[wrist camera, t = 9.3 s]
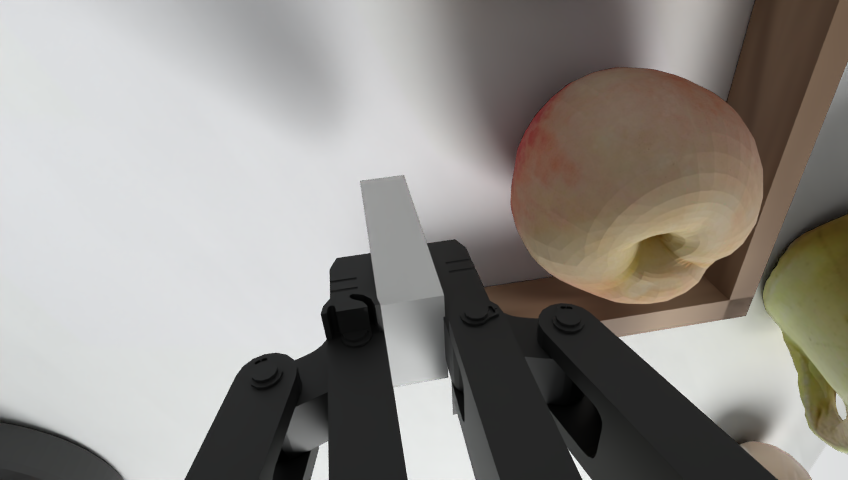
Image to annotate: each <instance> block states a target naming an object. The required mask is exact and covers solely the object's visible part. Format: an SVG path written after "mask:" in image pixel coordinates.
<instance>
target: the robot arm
mask: <svg viewBox="0 0 848 480" xmlns="http://www.w3.org/2000/svg"><path fill="white" fill-rule="evenodd" d="M360 184H361V191H362V198H363V205H364V211H365V218H366V225H367V232H368V239H369V245H370V252H371V253H368V254H361V255H355V256H348V257H341V258H336V260H335V262H334V263H333V265H332V267H331V268H330V299H329V300H328V302H327V303H326V304H325V305H324V306H323V308H322V312H321V317H322V322H323V326H324V330H325V334H326V338H327V340H326V341H325V342H324V343H323V345H322V346H321V347H319V348H318V349H317V350H315V351H314V352H312V353H310V354H308V355H306V356H304V357H301V358H299V359H297V360H294V359H292V358H291V357H289V356H288V355H286V354H280V353H271V354H264V355H262V356H259V357H257V358H254V359H252V360H251V361H250V362H248V363H247V364H246V365H244V366H243V367H242V368H241V370H240V371H239V373H238V374H237V375H236V377H235V379H234V381H233V383H232V385H231V387H230V389H229V391H228V393H227V395H226V397H225V399H224V401H223V403H222V405H221V407H220V409H219V411H218V413H217V415H216V417H215V419H214V421H213V423H212V425H211V427H210V429H209V431H208V433H207V435H206V437H205V440H204V442H203V444H202V446H201V448H200V450H199V452H198V454H197V456H196V458H195V460H194V462H193V464H192V466H191V468H190V470H189V472H188V474H187V476H186V478H185V480H311V476H312V472H313V469H314V465H315V461H316V457H317V454H318V449H319V445H321V444H323V443H325V442H327V441H328V446H329V480H408V479H407V473H406V467H405V460H404V454H403V447H402V441H401V435H400V428H399V422H398V416H397V409H396V403H395V396H394V390H393V387H398V386H404V385H409V384H415V383H420V382H426V381H431V380H437V379H442V378H448V369H449V373H450V376H451V380H452V401H453V414H458V417H459V421H460V425H461V428H462V432H463V436H464V439H465V443H466V446H467V450H468V454H469V457H470V461H471V465H472V468H473V472H474V475H475V479H476V480H582V478H581V476H580V474H579V472H578V470H577V467H576V465H575V463H574V461H573V459H572V457H571V455H570V453H569V451H570V452H571V453H572V455H573V456H574V457H575V458H576V460H577V461H578V462H579V464H580V465H581V466H582V467H583V469H584V470H585V471H586V473H587V474H588V475H589V476H590V478H591V479H592V480H778V479H777V478H776V477H775V476H773V475H772V474H771V473H770V472H769V471H768V470H767V469H766V468H764V467H763V466H762V465H761V464H760V463H759V462H758V461H757V460H755V459H754V458H753V457H752V456H751V455H750V454H749V453H748V452H747V451H745V450H744V449H743V448H742V447H741V446H740V445H739V444H738V443H736V442H735V441H734V440H733V439H732V438H731V437H730V436H729V435H727V434H726V433H725V432H724V431H723V430H722V429H721V428H720V427H718V426H717V425H716V424H715V423H714V422H713V421H712V420H711V419H709V418H708V417H707V416H706V415H705V414H704V413H703V412H702V411H700V410H699V409H698V408H697V407H696V406H695V405H694V404H693V403H691V402H690V401H689V400H688V399H687V398H686V397H685V396H684V395H682V394H681V393H680V392H679V391H678V390H677V389H676V388H675V387H673V386H672V385H671V384H670V383H669V382H668V381H667V380H666V379H665V378H663V377H662V376H661V375H660V374H659V373H658V372H657V371H656V370H654V369H653V368H652V367H651V366H650V365H649V364H648V363H647V362H645V361H644V360H643V359H642V358H641V357H640V356H639V355H638V354H636V353H635V352H634V351H633V350H632V349H631V348H630V347H629V346H627V345H626V344H625V343H624V342H623V341H622V340H621V339H620V338H618V337H617V336H616V335H615V334H614V333H613V332H612V331H611V330H609V329H608V328H607V327H606V326H605V325H604V324H603V323H602V322H600V321H599V320H598V319H597V318H596V317H595V316H594V315H593V314H592V313H590V312H589V311H587V310H585V309H584V308H582V307H580V306H576V305H573V304H565V303H559V304H554V305H550V306H548V307H546V308H545V309H543V310H542V312H541V313H540V315H539V318H525V317H516V316H512V315H508V314H505V313H503V311H502V310H501V308H500V307H499V306H498V305H497V304H495V303H493V302H491V301H490V300H489V297H488V295H487V293H486V291H485V289H484V286H483V284H482V282H481V280H480V278H479V275H478V273H477V271H476V269H475V267H474V264H473V262H472V261H471V258H470V256H469V253H468V251H467V249H466V247H464V246H463V245H462V244H460V243H459V242H458V241H456V240H455V239H454V240H447V241H441V242H434V243H426V240H425V237H424V234H423V231H422V228H421V225H420V222H419V219H418V216H417V213H416V210H415V207H414V204H413V201H412V198H411V195H410V192H409V189H408V186H407V183H406V180H405V177H404V175H401V176H393V177H386V178H378V179H371V180H363V181H360ZM568 449H569V451H568ZM0 480H123V478H122V477H121V476H120V475H119V474H118V473H117V472H116V471H115V470H114V469H113V468H112V467H111V466H110V465H108V464H107V463H106V462H104V461H103V460H102V459H100V458H98V457H97V456H95V455H94V454H92V453H90V452H89V451H87V450H85V449H83V448H81V447H79V446H77V445H75V444H73V443H70V442H68V441H66V440H63V439H61V438H58V437H55V436H52V435H49V434H46V433H43V432H40V431H36V430H33V429H29V428H25V427H21V426H17V425H12V424H7V423H1V422H0Z"/></svg>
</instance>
